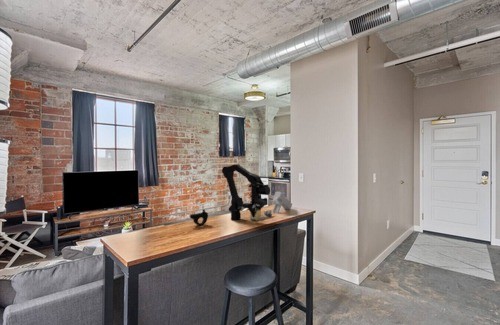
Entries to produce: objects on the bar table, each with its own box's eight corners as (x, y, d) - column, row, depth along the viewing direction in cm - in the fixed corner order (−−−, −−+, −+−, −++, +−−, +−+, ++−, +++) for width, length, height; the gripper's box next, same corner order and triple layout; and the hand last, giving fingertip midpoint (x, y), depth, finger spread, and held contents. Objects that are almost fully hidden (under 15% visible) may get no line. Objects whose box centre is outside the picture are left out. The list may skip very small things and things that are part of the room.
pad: (262, 220, 175) (262, 219, 175) (256, 218, 180) (256, 218, 180) (269, 218, 181) (269, 217, 181) (263, 216, 185) (263, 216, 185)
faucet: (292, 203, 210) (281, 191, 198) (285, 220, 203) (274, 208, 191) (286, 202, 214) (275, 190, 203) (279, 219, 207) (268, 207, 195)
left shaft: (252, 221, 173) (252, 214, 173) (249, 220, 176) (249, 213, 176) (259, 219, 176) (259, 213, 176) (256, 218, 179) (256, 212, 179)
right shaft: (268, 217, 183) (268, 211, 183) (264, 217, 185) (264, 210, 185) (272, 215, 188) (272, 209, 188) (268, 215, 190) (268, 209, 190)
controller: (209, 224, 166) (208, 209, 166) (191, 227, 159) (191, 212, 159) (206, 223, 169) (206, 208, 169) (189, 226, 163) (188, 211, 163)
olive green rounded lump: (260, 218, 168) (260, 209, 168) (256, 219, 166) (256, 210, 165) (254, 217, 173) (254, 208, 173) (250, 218, 170) (250, 209, 170)
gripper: (253, 196, 157) (254, 221, 157) (273, 193, 169) (273, 216, 170) (242, 195, 165) (242, 218, 165) (261, 192, 177) (261, 213, 178)
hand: (255, 216), depth 169 cm, fingers closed on olive green rounded lump, 4 cm apart
